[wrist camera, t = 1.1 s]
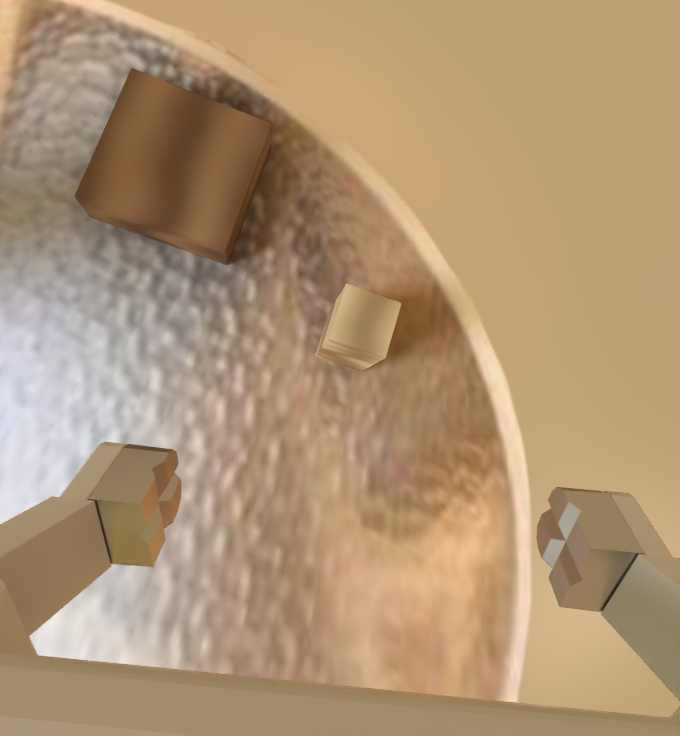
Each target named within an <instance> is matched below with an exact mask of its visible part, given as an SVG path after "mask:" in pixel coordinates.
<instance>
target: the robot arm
mask: <svg viewBox="0 0 680 736" xmlns="http://www.w3.org/2000/svg"><path fill="white" fill-rule="evenodd" d="M177 466H178V458H177V452H176V451H174V450H173V449H165V448H156V447H148V446H140V445H132V444H119V443H111V442H103V443H102V444H100V445H98V446H97V448H96V449H95V450H94V452H93V453H92V454H91V456H90V457H89V458H88V460H87V461H86V462H85V464H84V465H83V466H82V468H81V469H80V470H79V472H78V473H77V474H76V476H75V477H74V478H73V480H72V481H71V483H70V484H69V485H68V487H67V488H66V489H65V491H64V492H63V493H62V495H61V496H60V497H51V498H49V499H47V500H45V501H43V502H41V503H40V504H38V505H36V506H34V507H32V508H30V509H28V510H27V511H25V512H23V513H21V514H19V515H17V516H15V517H14V518H12V519H10V520H8V521H6V522H4V523H2V524H1V525H0V736H680V707H679V708H678V709H677V710H676V711H675V712H674V713H673V714H672V715H671V717H670V718H666V717H656V716H646V715H636V714H626V713H615V712H605V711H595V710H584V709H575V708H565V707H555V706H544V705H534V704H523V703H514V702H504V701H494V700H484V699H474V698H463V697H453V696H443V695H433V694H423V693H413V692H403V691H392V690H382V689H372V688H362V687H351V686H341V685H331V684H321V683H310V682H300V681H290V680H280V679H269V678H259V677H249V676H239V675H229V674H219V673H209V672H199V671H189V670H178V669H168V668H158V667H148V666H138V665H128V664H118V663H108V662H98V661H87V660H77V659H67V658H57V657H47V656H38V654H37V652H36V650H35V648H34V646H33V644H32V642H31V640H30V637H29V636H30V635H31V634H32V633H33V632H34V631H35V630H37V629H38V628H39V627H40V626H41V625H43V624H44V623H45V622H46V621H47V620H48V619H50V618H51V617H52V616H53V615H54V614H56V613H57V612H58V611H59V610H60V609H61V608H63V607H64V606H65V605H66V604H67V603H69V602H70V601H71V600H72V599H73V598H74V597H76V596H77V595H78V594H79V593H80V592H82V591H83V590H84V589H85V588H86V587H87V586H89V585H90V584H91V583H92V582H93V581H95V580H96V579H97V578H98V577H99V576H100V575H102V574H103V573H104V572H105V571H106V570H108V569H109V568H110V567H111V564H120V565H135V566H149V567H153V566H154V564H155V562H156V559H157V557H158V555H159V553H160V550H161V548H162V546H163V544H164V542H165V534H164V528H166V527H167V526H168V525H170V524H171V523H173V521H174V519H175V516H176V514H177V512H178V508H179V503H180V499H181V480H180V478H179V477H178V476H177V475H176V474H175V473H174V472H175V470H176V468H177ZM548 501H549V503H550V506H551V509H549V510H548V511H546V512H545V513H543V514H542V515H541V517H540V520H539V523H538V525H537V543H538V549H539V552H540V555H541V557H542V559H543V560H544V561H545V562H546V563H547V564H548V565H549V566H550V567H552V571H551V573H550V576H549V580H550V582H551V585H552V588H553V590H554V593H555V596H556V599H557V601H558V604H559V606H560V607H565V608H573V609H581V610H589V611H596V612H597V611H598V612H602V613H601V615H602V616H603V617H604V618H605V619H606V620H607V621H608V623H609V624H610V625H611V626H612V627H613V628H614V629H615V630H616V631H617V632H618V634H619V635H620V636H621V637H622V638H623V639H624V640H625V641H626V642H627V643H628V644H629V646H630V647H631V648H632V649H633V650H634V651H635V652H636V653H637V655H638V656H639V657H640V658H641V659H642V660H643V661H644V662H645V663H646V664H647V666H648V667H649V668H650V669H651V670H652V671H653V672H654V673H655V674H656V676H657V677H658V678H659V679H660V680H661V681H662V682H663V683H664V684H665V686H666V687H667V688H668V689H669V690H670V691H671V692H672V693H673V694H674V695H675V697H676V698H677V699H678V700H679V701H680V558H673V557H672V555H671V553H670V552H669V550H668V549H667V547H666V546H665V544H664V543H663V541H662V539H661V538H660V536H659V535H658V533H657V532H656V530H655V529H654V527H653V525H652V524H651V522H650V521H649V519H648V518H647V516H646V515H645V513H644V512H643V510H642V508H641V507H640V505H639V504H638V502H637V501H636V499H635V498H634V497H633V496H632V495H630V494H629V493H622V492H609V491H603V492H602V491H595V490H584V489H573V488H562V487H556V488H555V489H554V490H553V491H552V492H551V495H550V497H549V499H548Z"/></svg>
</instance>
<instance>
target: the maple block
mask: <svg viewBox="0 0 680 736" xmlns="http://www.w3.org/2000/svg"><path fill="white" fill-rule="evenodd" d="M401 304H402V303H400V302H397V301H394V300H391V299H388V298H386V297H383V296H380V295H377V294H375V293H372V292H369V291H366V290H363V289H361V288H358V287H355V286H352V285H350V284H346V285H345V287H344V289H343V290H342V292H341V293H340V295H339V297H338V298H337V300H336V301H335V303H334V304H333V306H332V308H331V309H330V311H329V314H328V318H327V321H326V324H325V327H324V330H323V333H322V336H321V339H320V343H319V346H318V349H317V352H316V355H315V356H317V357H320V358H323V359H326V360H329V361H332V362H335V363H338V364H341V365H344V366H347V367H350V368H353V369H356V370H359V371H363V370H365V369H367V368H369V367H370V366H372V365H374V364H376V363H378V362H379V361H381V360H383V359H385V358H386V355H387V352H388V348H389V345H390V341H391V338H392V334H393V331H394V328H395V324H396V321H397V317H398V314H399V310H400V307H401Z"/></svg>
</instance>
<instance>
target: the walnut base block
mask: <svg viewBox="0 0 680 736" xmlns="http://www.w3.org/2000/svg"><path fill="white" fill-rule="evenodd" d="M271 133H272V123H269V122H267V121H264V120H262V119H259V118H257V117H254V116H252V115H249V114H247V113H244V112H241V111H239V110H236V109H234V108H231V107H229V106H226V105H224V104H221V103H219V102H216V101H214V100H211V99H209V98H206V97H204V96H201V95H199V94H196V93H193V92H191V91H188V90H186V89H183V88H181V87H178V86H176V85H173V84H171V83H168V82H166V81H163V80H161V79H158V78H156V77H153V76H151V75H148V74H145V73H143V72H140V71H138V70H135V69H133V68H131V71H130V73H129V75H128V77H127V80H126V82H125V84H124V86H123V89H122V91H121V93H120V95H119V98H118V100H117V102H116V104H115V107H114V109H113V111H112V113H111V116H110V118H109V120H108V122H107V125H106V127H105V129H104V131H103V134H102V136H101V138H100V140H99V143H98V145H97V147H96V149H95V152H94V154H93V156H92V158H91V161H90V163H89V165H88V167H87V170H86V172H85V174H84V177H83V179H82V181H81V183H80V186H79V188H78V190H77V192H76V195H75V197H76V199H77V200H78V201H79V203H80V204H81V205H82V207H83V208H84V209H85V211H86V212H87V213H88V215H89V216H90V217H92V218H95V219H98V220H101V221H104V222H106V223H109V224H112V225H115V226H118V227H121V228H124V229H126V230H129V231H132V232H135V233H138V234H141V235H143V236H146V237H149V238H152V239H155V240H158V241H160V242H163V243H166V244H169V245H172V246H175V247H177V248H180V249H183V250H186V251H189V252H192V253H194V254H197V255H200V256H203V257H206V258H209V259H211V260H214V261H217V262H220V263H223V264H226V265H228V263H229V260H230V257H231V254H232V252H233V249H234V246H235V244H236V241H237V238H238V235H239V233H240V230H241V227H242V225H243V222H244V219H245V216H246V214H247V211H248V208H249V206H250V203H251V200H252V197H253V195H254V192H255V189H256V187H257V184H258V181H259V178H260V176H261V173H262V170H263V168H264V165H265V162H266V159H267V157H268V154H269V151H270V149H271Z"/></svg>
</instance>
